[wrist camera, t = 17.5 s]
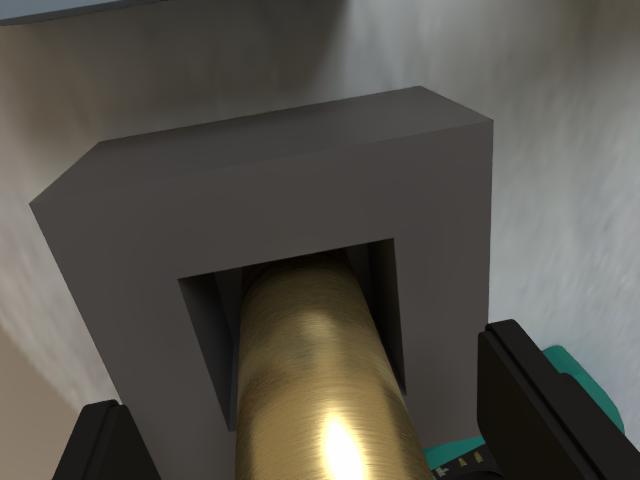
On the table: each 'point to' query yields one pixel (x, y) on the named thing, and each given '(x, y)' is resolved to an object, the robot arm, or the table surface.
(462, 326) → the grey slotted block
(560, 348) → the digital multimeter
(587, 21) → the table surface
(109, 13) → the table surface
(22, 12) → the socket block
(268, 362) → the peg
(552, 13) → the table surface
